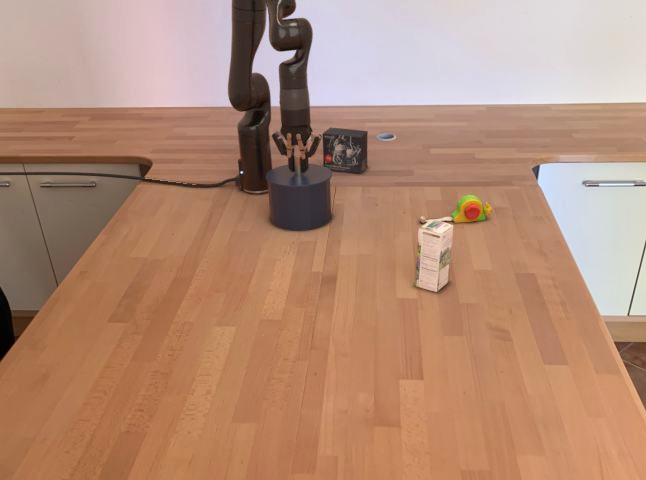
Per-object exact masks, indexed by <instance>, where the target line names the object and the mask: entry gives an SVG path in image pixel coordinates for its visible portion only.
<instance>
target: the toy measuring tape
mask: <svg viewBox="0 0 646 480" xmlns="http://www.w3.org/2000/svg"><path fill="white" fill-rule="evenodd" d="M492 213H493V208H492V206H491V205H490V204H489V202H485V203H484V204H483V202H482V201H481V199H480V198H479V197H478V196H476V195H475V194H467V195H464V196H462V197H461V198H460V199H459V201H458V202H457V205H456V207H455V209H454V211H453V212H452V213H451V215H450V216H444V217H440V218H431V219H426V217H425V216H424V215H421V216H419V220H420V222H421V223H422V224H425V223H427V222H429V221H430V220H437V221H442V222H445V221H448V222H449V221H450V222H451V221H452V222H453V223H454V224H457V223H458V224H459V223H471V222H476V221H478V222H479V221H485V220H486V216H485V215H490V214H492Z"/></svg>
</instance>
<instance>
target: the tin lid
mask: <svg viewBox="0 0 646 480" xmlns="http://www.w3.org/2000/svg"><path fill="white" fill-rule="evenodd" d="M293 157H294V172H291V169H289V166H288V164H284V165H279V166H276V167H274V168H272V170H270V171H269V172H268V173H267V174H266V179H267V181H268V182H269V183H271V184H273V185H275V186H279V187H286V188H305V187H312V186H317V185H320V184H323V183H325V182H327V181H329V180H330V181H331V179H332V177H333V172H332V170H330V169H328V168H327V167H324V165H322V164H317V163H316V164H315V163H309V168H308V170H307V171H306V172H305V173H302V171H301V159H302V158H301V153H300V154H299V153H298V154H294V156H293Z"/></svg>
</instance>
